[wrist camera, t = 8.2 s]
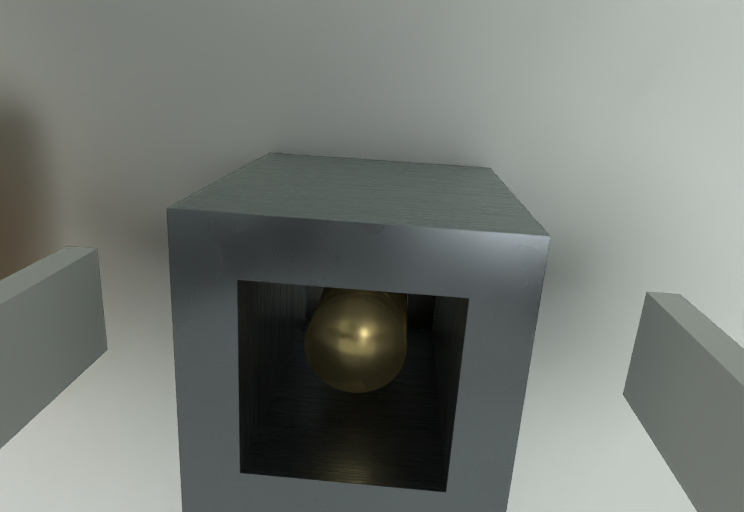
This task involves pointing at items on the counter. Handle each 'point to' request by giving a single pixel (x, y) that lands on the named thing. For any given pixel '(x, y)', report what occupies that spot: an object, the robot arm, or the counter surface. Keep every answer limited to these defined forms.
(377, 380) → the pin
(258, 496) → the link
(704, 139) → the counter surface
